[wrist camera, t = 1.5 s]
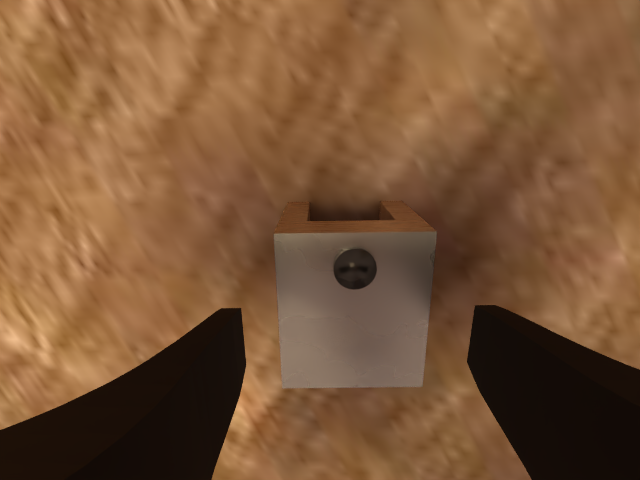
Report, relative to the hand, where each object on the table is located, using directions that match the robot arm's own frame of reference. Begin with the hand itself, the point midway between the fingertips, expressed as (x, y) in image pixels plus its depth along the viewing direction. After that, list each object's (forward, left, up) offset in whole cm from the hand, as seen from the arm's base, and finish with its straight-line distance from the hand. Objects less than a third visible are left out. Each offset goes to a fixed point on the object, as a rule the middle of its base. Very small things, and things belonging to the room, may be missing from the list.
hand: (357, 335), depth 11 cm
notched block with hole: (0, 0, -6) cm, 6 cm away
